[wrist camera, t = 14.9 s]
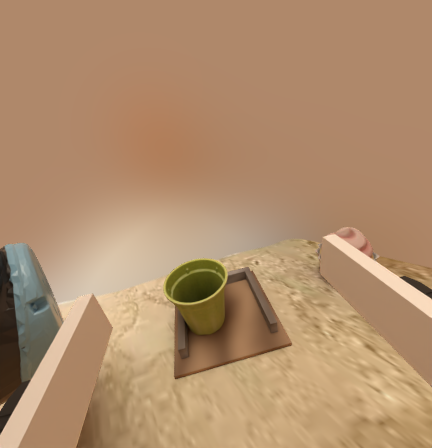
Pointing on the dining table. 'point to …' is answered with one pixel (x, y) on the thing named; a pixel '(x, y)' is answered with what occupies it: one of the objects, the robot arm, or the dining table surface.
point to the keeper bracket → (231, 329)
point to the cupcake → (353, 242)
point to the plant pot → (199, 294)
